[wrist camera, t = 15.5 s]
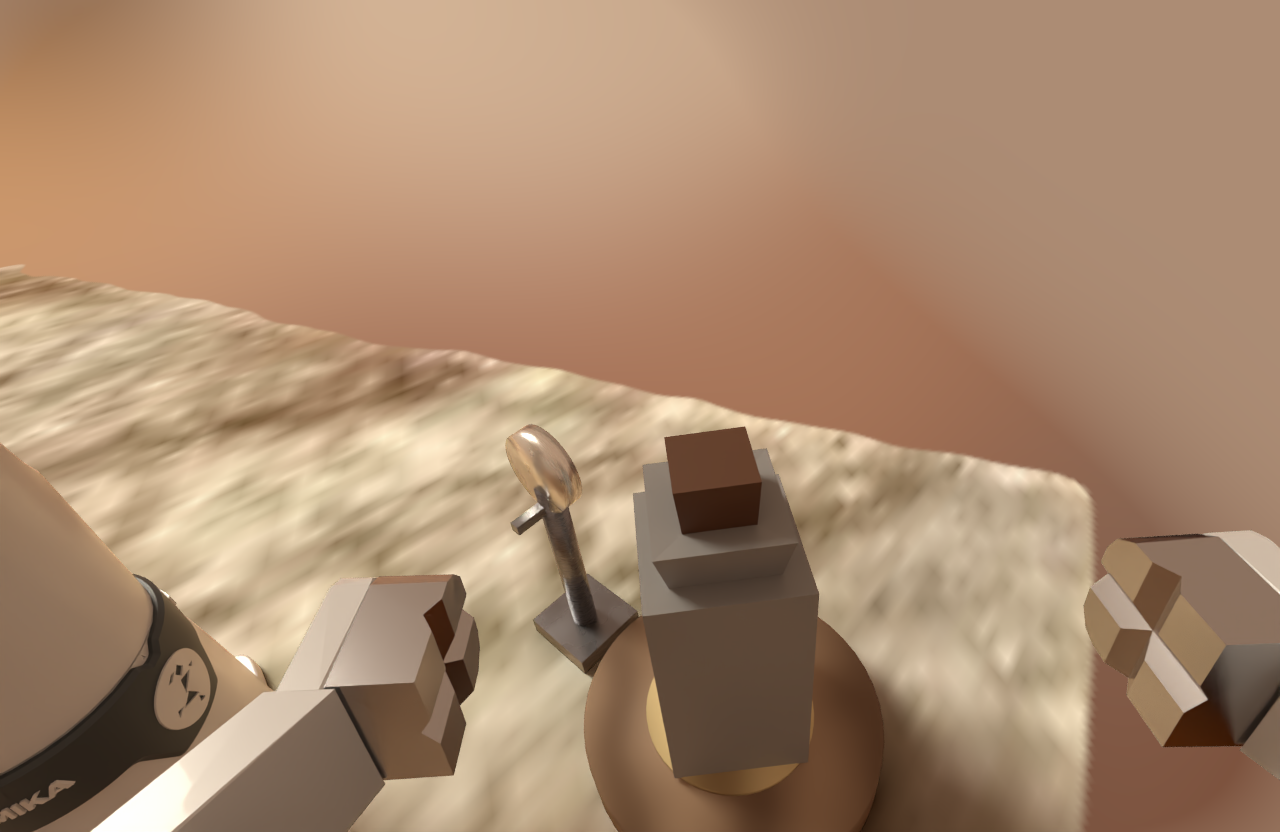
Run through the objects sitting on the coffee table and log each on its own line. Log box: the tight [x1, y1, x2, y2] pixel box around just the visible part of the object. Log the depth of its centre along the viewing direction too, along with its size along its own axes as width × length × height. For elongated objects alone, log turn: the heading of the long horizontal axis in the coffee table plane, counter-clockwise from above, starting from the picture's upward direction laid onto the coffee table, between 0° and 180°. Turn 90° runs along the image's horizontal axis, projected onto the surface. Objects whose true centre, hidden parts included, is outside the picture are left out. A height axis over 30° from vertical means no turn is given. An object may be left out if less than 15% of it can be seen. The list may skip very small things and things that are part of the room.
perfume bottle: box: [633, 427, 819, 778], centre depth 31 cm, size 7×7×18 cm
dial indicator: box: [505, 424, 638, 673], centre depth 40 cm, size 5×5×17 cm
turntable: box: [584, 616, 884, 832], centre depth 37 cm, size 16×16×3 cm
